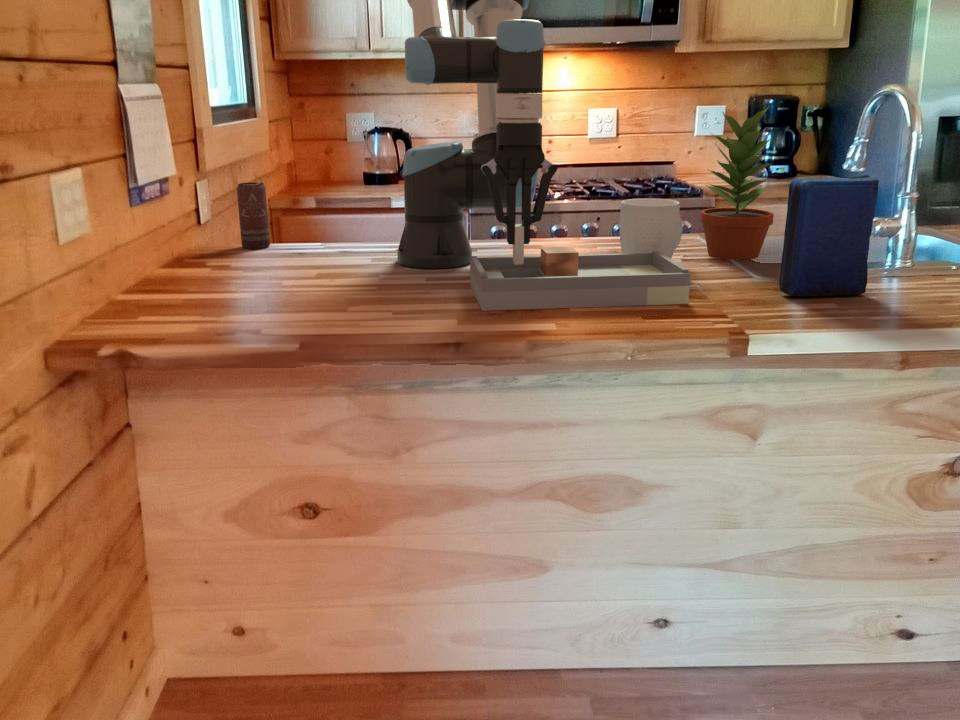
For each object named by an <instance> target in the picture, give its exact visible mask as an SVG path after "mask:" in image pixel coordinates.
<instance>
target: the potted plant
mask: <svg viewBox="0 0 960 720" xmlns="http://www.w3.org/2000/svg"><path fill="white" fill-rule="evenodd" d="M770 106H771V105H768V107H767V108H766V109H764V110H759V111H758V112H756V113H755V114H754V115H753V117H750V118H747V119H745V120H744V121H743V122H742V126H741V125H740V123H739V122H738V121H737V120H736V119H735V118H734V117H733V116H730V115H727V114H725V112H722V114H723V117H724V118H725V119H726V121H727V123H728V124H729V127H730V128H731V129H732V131H733V133H734V134H735V136H736V139H734V138H730V137H729V136H728V135H726V138H723V137H721V136H718V135H717V136H716V135H714V134H713V133H712V132H710V134H711V135H712V136H713V137H715V138H716V139H717V140H718V141H719V142H720V143H721V144H722V145H724V146H725V147H726V148H727V149H728V156H729V157H728V156H727V155H726V154H725V153H724V151H723V150H722V149H721V148H720V147H719V146H718V145H717V144H716V143H714V145H715V146H716V147H717V150H719V152H720V153H721V154H722V156H723V157H724V158H725V160H726V161H727V163H724V162H721V161H719V160H717V159H716V161H717V163H718V164H719V166H721V168H723V169H724V171H726V172H727V174H729V177H728V176H727V175H725V174H724V173H721V172H719V171H715V170H709V169H708V171H709V172H710V173H712V174H714V175H715V176H716V177H718V178H720V179H721V180H722V181H724V182H725V183H727V184H728V185H729V186H731V187H733V188H729V187H726V186H724V185H716V184H710V183H708V184H706V183H705V184H704V185H705V186H706V187H707V188H708V189H709V190H711V191H713V192H714V193H715V194H717V195H718V196H719V197H721V199H722V198H723V200H725V201H727V202H728V203H730V205H732V206H734V207H713V208H707V209H706V208H705V209H702V210H701V211H700V215H699V216H700V217H699V222H700V223H702V227H703V228H702V229H703V233H704V239H705V243H706V249H707V254H708V256H710V257H712V258H717V259H722V260H731V259H746V260H754V259H757V258H759V256H760V254H761V252H762V248H763V246H764V242H765V239H766V237H767V234H768V231H769V228H770V227H771V226H773V223H774V215H775V213H774V212H772V211H769V210H765V209H757V208H746V207H747V206H749V205H750V204H751V203H752V202H754V201H755V200H756V199H757V198H758V197H759V196H761V195H762V194H763V193H764V192H765V191H766V188H767V187H768V185H766V186H764V187H763V188H755V187H757V186H758V185H760V184H763V183H764V182H766V181H768V178H766V179H764V180H753V177H752V178H750V179H746V178H748V177H750V176H752V175H753V174H755V173H757V172H759V171H761V170H762V169H765V168H767V167H768V166H770V165H772V164H773V163H774V162H771V163H766V164H759V165H756V164H757V163H758V162H759V161H760V159H762V158H763V153H760V152H762V150H764V149H765V145H766V144H767V143H769V142H770V141H771V140H772V138H773V136H772V137H771V138H769V139H768V140H760V141H759V142H757V141H758V139H759V137H760V136H761V133H762V132H761V129H762V127H761V126H760V125H761V123H760V121H761V119H762V117H763V116H764V115H765V114H766V112H767V111H768V109H769V107H770ZM756 142H757V143H756ZM755 165H756V166H755ZM709 185H710V186H709ZM753 188H755V189H753ZM751 189H752V190H751ZM750 190H751V191H750ZM730 194H731V195H730ZM746 260H745V261H746Z"/></svg>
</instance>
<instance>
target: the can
mask: <svg viewBox="0 0 960 720" xmlns="http://www.w3.org/2000/svg"><path fill="white" fill-rule="evenodd" d="M266 188H267V187H266V186H265V183H264V182H262V181H261V182H242V183H241V182H240V183H238V184H237V187H236V197H237V198H236V199H237V207H238V217H239V227H240V229H239V230H240V239H241V240H240V241H241V246H242V247H243V249H245V250H263V249H267V248H269V247H270V245H271V238H270V224H269V215H268V214H269V213H268V201H267V200H268V199H267V189H266Z"/></svg>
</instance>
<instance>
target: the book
mask: <svg viewBox="0 0 960 720" xmlns="http://www.w3.org/2000/svg"><path fill="white" fill-rule="evenodd" d="M879 182H880V181H879V178H876V177H873V176H871V175H869V174H865V175H857V176H852V177H835V178H834V177H833V178H831V177H830V178H811V177H806V178H805V177H803V178H793V179H792V180H791V181H790V183H789V186H788V200H787V212H786V218H785V225H784V234H783V235H784V238H783V247H782V249H783V250H782V253H781V254H782V255H781V264H780V271H779V280H778V281H779V284H778V285H779V291H780V292H782V293H784V294H786V295H787V296H791V297H830V296H831V297H833V296H853V295H855V296H856V295H858V296H859V295H861V294H862V295H863V294H865V293H866V290H867V289H866V288H867V285H868V275H869V273H868V272H869V271H868V269H869V267H868V265H869V264H868V258H869V250H870V239H871V235H872V233H873V225H874V217H875V210H876V204H877V198H878V192H879Z"/></svg>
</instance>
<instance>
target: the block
mask: <svg viewBox="0 0 960 720" xmlns="http://www.w3.org/2000/svg"><path fill="white" fill-rule="evenodd" d="M579 254H580V253H579V251H577V250H576V249H575V247H573V246H548V247H545V246H544V247H540V256H541V264H540V270H541V271H542V272H543V273H544V274H545V276H578V255H579Z"/></svg>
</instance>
